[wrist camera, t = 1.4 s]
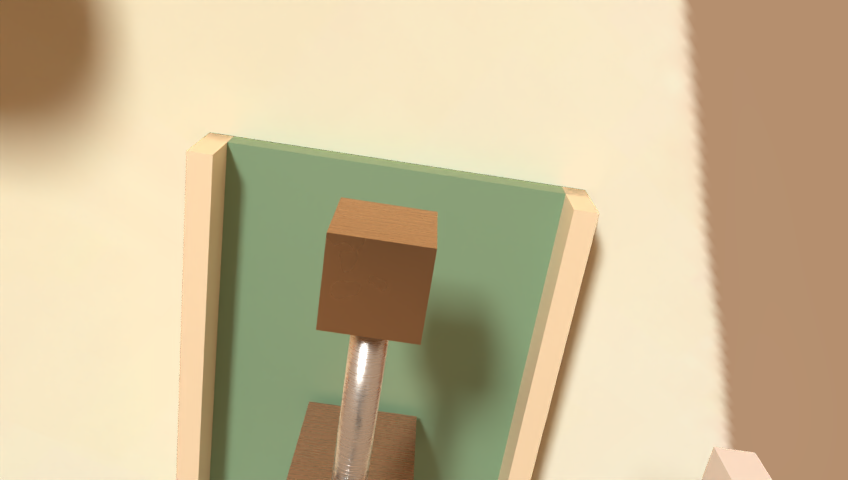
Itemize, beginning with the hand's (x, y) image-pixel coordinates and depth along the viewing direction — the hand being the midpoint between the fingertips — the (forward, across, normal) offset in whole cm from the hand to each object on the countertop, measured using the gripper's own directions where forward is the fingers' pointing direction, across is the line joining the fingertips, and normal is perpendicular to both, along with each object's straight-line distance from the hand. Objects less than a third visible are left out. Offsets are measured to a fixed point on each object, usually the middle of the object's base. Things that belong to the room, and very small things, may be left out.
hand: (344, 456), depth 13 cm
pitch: (+19, 0, +12) cm, 22 cm away
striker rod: (+17, 0, +6) cm, 18 cm away
